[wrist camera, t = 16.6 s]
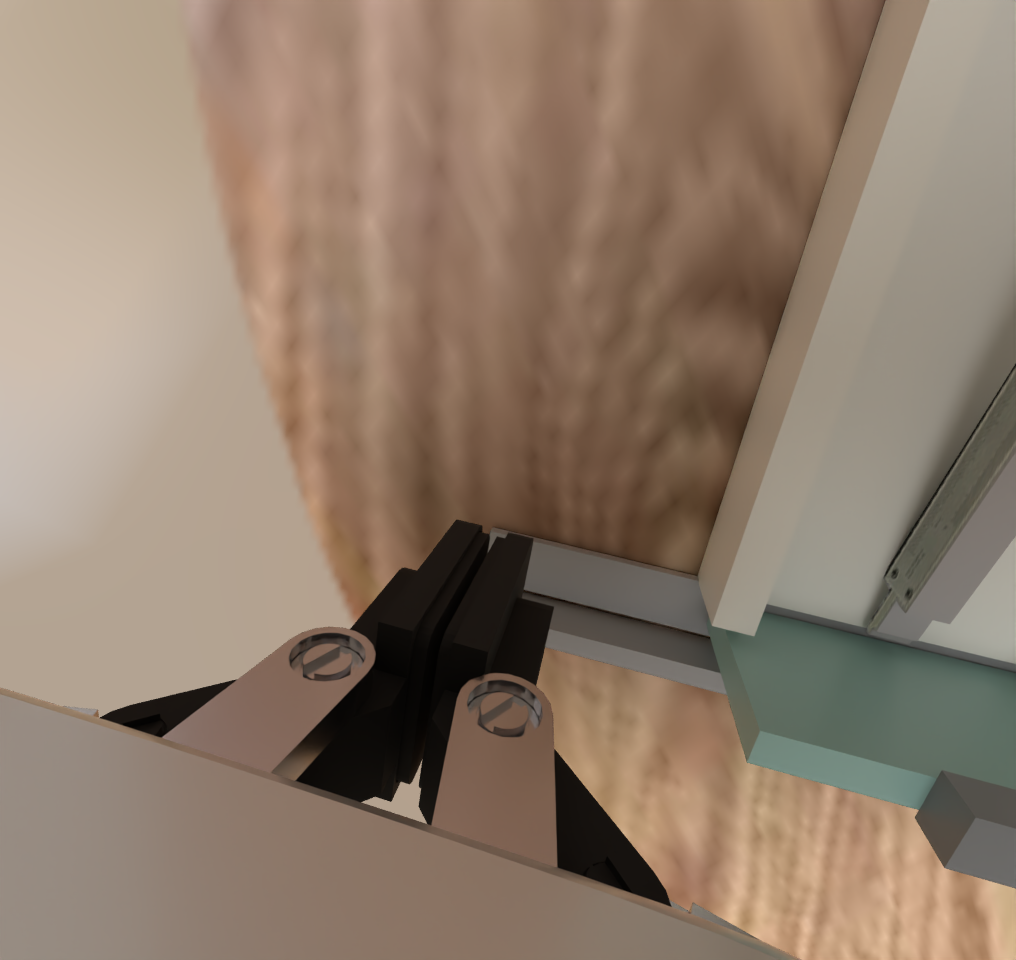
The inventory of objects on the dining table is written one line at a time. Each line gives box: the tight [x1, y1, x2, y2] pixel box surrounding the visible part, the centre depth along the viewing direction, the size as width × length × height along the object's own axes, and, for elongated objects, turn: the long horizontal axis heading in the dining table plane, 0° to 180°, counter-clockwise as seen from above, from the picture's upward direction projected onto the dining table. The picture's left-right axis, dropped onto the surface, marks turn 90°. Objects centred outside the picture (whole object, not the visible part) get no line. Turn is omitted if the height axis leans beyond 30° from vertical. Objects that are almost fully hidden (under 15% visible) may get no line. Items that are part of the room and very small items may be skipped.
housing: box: [488, 0, 1016, 695], centre depth 11 cm, size 15×26×2 cm, turn 170°
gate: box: [706, 612, 1016, 888], centre depth 12 cm, size 8×1×6 cm, turn 80°
